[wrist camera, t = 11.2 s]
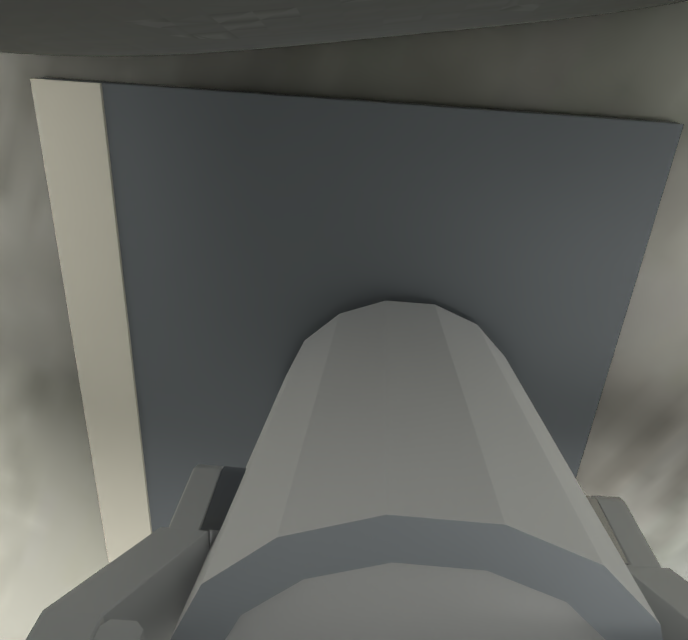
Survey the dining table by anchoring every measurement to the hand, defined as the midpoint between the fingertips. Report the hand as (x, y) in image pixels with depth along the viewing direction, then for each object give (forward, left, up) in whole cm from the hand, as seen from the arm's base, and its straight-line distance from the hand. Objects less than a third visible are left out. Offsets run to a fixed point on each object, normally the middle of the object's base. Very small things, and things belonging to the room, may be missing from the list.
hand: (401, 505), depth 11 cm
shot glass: (0, 0, -4) cm, 4 cm away
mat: (0, -1, -4) cm, 4 cm away
